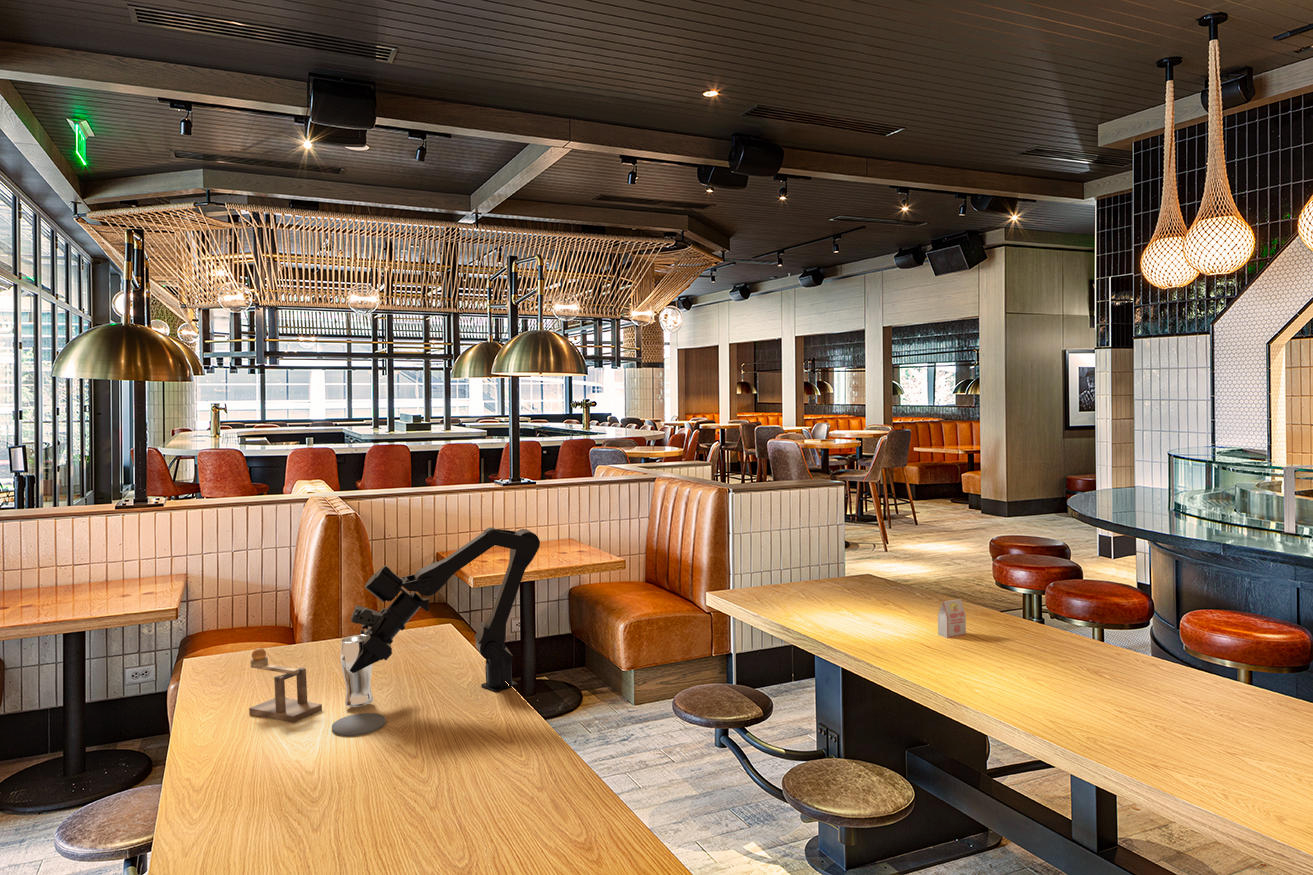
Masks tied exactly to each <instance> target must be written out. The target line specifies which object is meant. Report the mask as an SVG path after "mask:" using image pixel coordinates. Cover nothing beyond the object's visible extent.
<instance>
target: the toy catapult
mask: <svg viewBox="0 0 1313 875" xmlns="http://www.w3.org/2000/svg"><path fill="white" fill-rule="evenodd" d="M266 655H267V652H266V650H265V649H264V648H262V647H257V648H255V649H254V650H253V651H252V653H251V659H250V668H252V669H258V670H264V671H269V672H274V673H275V672H276V673H282V674H280V675H276V676H274V677H273V678H274V697H273V698H271V699H269V700H266V701H264V702H261V703H258V704H256V705H253V706H251V707H249V708H248V710H249V715H251V716H255V717H261V718H266V719H270V720H275V721H282V722H287V723H291V724H295V723H297V722H299V721H302V720H303V719H306V718H308V717H310V716H312V715H315V714H317V713H320V712H322V711H323V704H322V703H319V702H317V703H316V702H310V701H308V685H307V668H306V667H298V668H292V667H286V666H280V665H275V664H269V660H268V656H266ZM293 677H296V696H297V699H296V698H295V699H294V698H290V697H286V688H285V687H286V686H285V681H286V680H287V679H291V678H293Z"/></svg>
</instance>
